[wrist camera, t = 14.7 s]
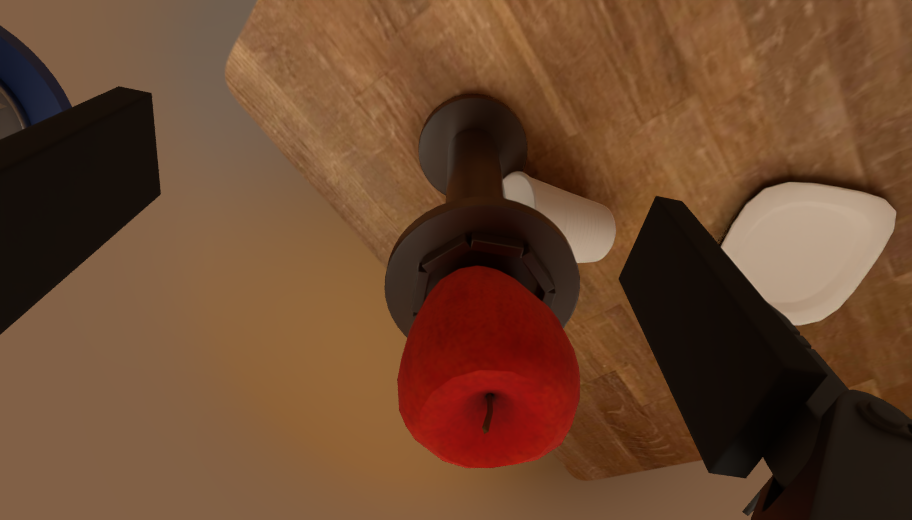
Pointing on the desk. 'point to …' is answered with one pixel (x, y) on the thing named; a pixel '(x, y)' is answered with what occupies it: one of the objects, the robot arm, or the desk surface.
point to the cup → (567, 215)
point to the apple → (487, 372)
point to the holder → (478, 214)
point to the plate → (808, 245)
